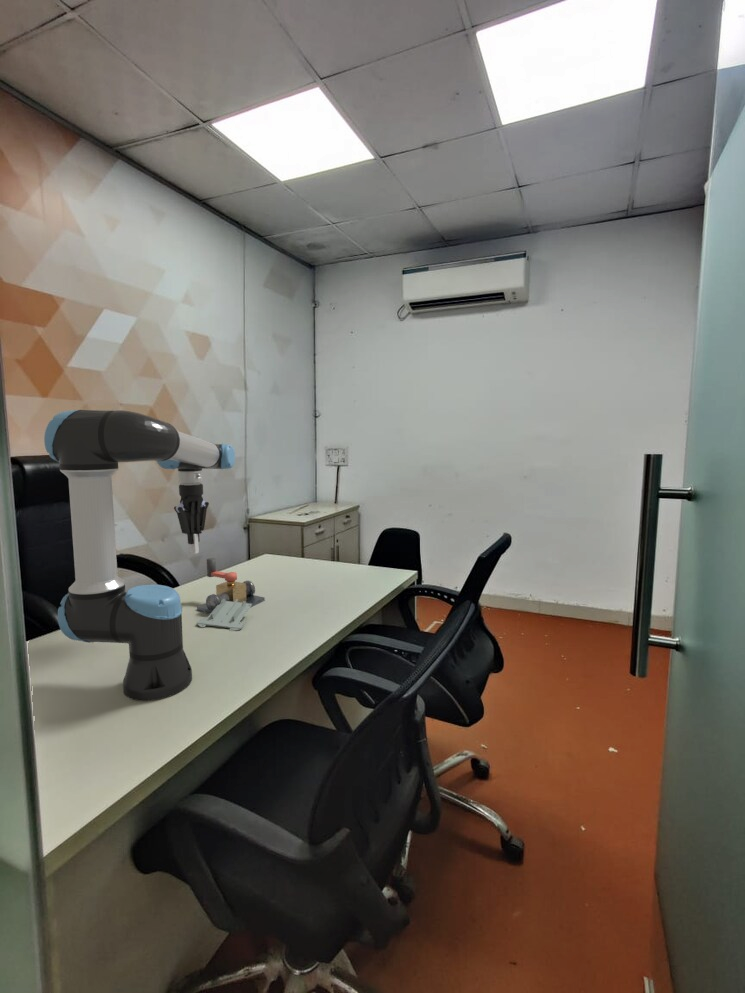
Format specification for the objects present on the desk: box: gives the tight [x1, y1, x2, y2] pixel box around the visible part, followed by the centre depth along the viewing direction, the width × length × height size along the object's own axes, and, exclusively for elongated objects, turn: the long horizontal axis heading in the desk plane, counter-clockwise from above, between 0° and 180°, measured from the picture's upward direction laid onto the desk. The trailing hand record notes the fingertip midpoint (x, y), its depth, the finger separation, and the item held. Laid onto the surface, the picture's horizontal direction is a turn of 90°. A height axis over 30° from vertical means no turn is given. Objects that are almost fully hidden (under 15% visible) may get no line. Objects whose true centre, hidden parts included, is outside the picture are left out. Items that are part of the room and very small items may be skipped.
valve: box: [196, 580, 266, 614], centre depth 167 cm, size 18×14×9 cm
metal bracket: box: [196, 599, 252, 632], centre depth 154 cm, size 14×6×15 cm
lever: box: [206, 557, 238, 582], centre depth 168 cm, size 12×4×6 cm, turn 63°
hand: (194, 552), depth 163 cm, fingers closed
